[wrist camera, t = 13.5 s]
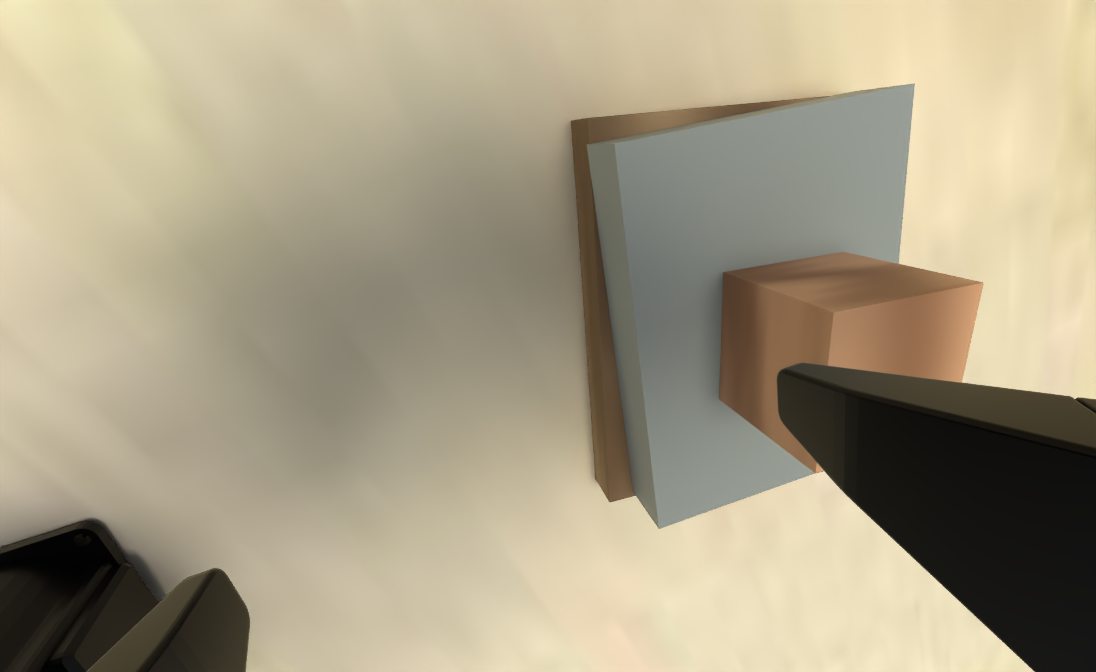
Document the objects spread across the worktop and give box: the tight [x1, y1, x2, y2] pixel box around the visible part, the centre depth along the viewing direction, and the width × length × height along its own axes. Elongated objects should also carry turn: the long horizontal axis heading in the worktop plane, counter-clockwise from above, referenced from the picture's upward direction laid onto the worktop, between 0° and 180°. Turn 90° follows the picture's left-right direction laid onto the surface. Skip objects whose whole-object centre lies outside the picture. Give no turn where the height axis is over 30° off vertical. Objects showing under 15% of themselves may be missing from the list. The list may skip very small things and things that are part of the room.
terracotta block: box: [719, 252, 983, 473], centre depth 17 cm, size 5×5×5 cm
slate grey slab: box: [587, 84, 915, 529], centre depth 20 cm, size 11×15×2 cm
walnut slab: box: [571, 96, 829, 502], centre depth 23 cm, size 12×16×2 cm
